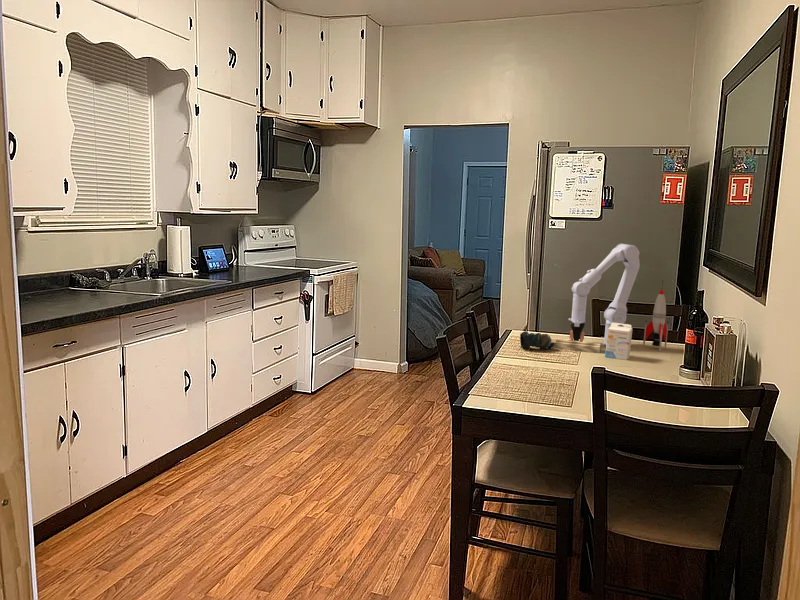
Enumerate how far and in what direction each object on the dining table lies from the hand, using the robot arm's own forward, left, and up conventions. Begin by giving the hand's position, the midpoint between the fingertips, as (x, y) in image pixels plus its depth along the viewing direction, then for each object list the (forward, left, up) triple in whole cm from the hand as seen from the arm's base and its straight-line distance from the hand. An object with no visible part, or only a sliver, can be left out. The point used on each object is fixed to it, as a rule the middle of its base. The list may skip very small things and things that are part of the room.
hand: (576, 340), depth 267 cm
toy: (-33, -6, -2) cm, 34 cm away
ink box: (-17, +16, -2) cm, 23 cm away
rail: (0, +10, -2) cm, 10 cm away
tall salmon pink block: (0, 0, -2) cm, 2 cm away
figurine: (+15, +19, -2) cm, 24 cm away
